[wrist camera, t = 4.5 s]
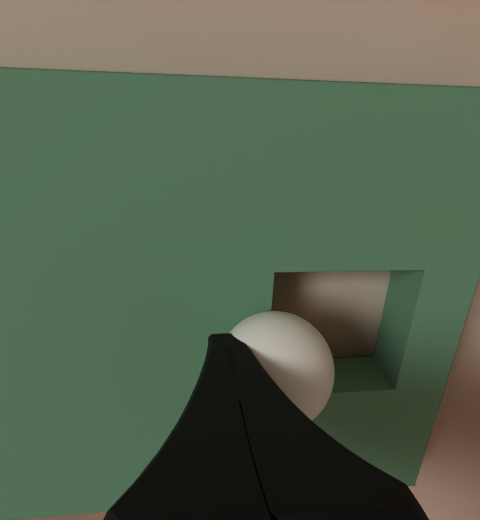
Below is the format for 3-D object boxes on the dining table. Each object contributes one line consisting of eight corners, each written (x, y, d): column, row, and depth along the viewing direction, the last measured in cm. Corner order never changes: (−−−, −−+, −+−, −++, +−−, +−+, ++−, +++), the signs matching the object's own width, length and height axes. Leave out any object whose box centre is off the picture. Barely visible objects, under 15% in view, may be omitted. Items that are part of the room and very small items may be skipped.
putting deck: (-32, 478, 18) (-56, 525, 16) (-170, 60, 11) (-239, 58, 9) (393, 448, 20) (414, 486, 18) (489, 87, 13) (536, 90, 12)
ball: (328, 470, 11) (328, 382, 15) (343, 371, 10) (340, 296, 13) (204, 449, 12) (229, 368, 15) (200, 352, 10) (229, 284, 14)
